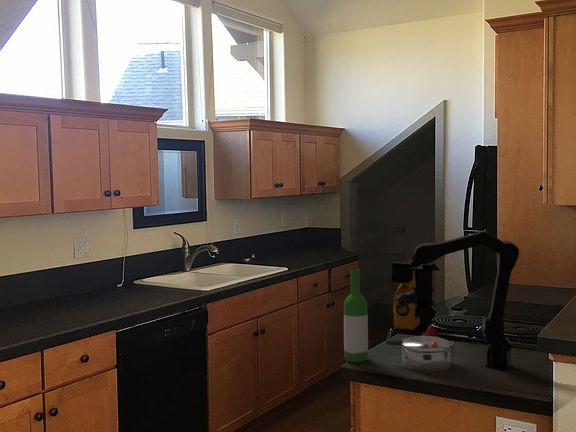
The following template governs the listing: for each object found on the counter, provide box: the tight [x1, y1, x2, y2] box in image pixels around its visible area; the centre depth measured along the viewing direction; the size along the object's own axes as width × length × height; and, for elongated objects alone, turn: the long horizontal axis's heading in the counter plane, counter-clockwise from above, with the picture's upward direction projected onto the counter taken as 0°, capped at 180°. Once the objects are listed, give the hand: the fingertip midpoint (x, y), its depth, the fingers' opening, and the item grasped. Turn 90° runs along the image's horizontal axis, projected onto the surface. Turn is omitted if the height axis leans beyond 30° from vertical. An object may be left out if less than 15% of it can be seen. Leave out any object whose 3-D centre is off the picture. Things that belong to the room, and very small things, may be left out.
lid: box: [385, 335, 456, 353], centre depth 208 cm, size 21×15×2 cm
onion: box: [421, 325, 440, 338], centre depth 225 cm, size 6×6×8 cm
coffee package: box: [393, 276, 420, 331], centre depth 254 cm, size 10×12×22 cm
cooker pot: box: [401, 346, 451, 373], centre depth 208 cm, size 15×19×6 cm
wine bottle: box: [343, 268, 369, 364], centre depth 212 cm, size 8×8×30 cm
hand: (423, 332), depth 207 cm, fingers closed
